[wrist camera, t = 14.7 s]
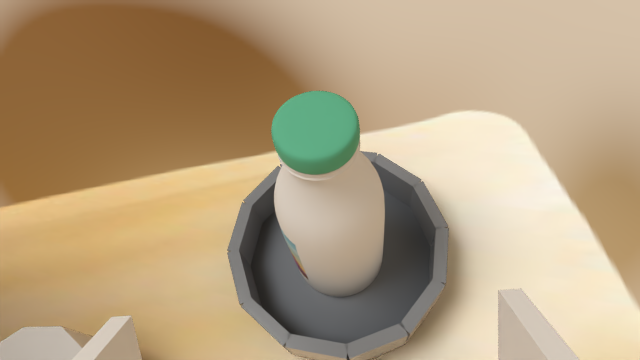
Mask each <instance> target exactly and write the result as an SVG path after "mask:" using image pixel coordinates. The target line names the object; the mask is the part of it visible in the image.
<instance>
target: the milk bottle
mask: <svg viewBox="0 0 640 360" xmlns="http://www.w3.org/2000/svg"><path fill="white" fill-rule="evenodd" d="M272 139H273V143H274V146H275V149H276V151H277V153H278V157H279V160H280V162H281V164H282V167H281V169H280V172H279V174H278V177H277V180H276V184H275V190H274V205H275V212H276V216H277V219H278V222H279V225H280V228H281V231H282V233H283V235H284V238H285V240H286V242H287V245H288V247H289V249H290V251H291V253H292V255H293V258H294V260H295V262H296V264H297V266H298V268H299V270H300V272H301V274H302V276H303V277H304V279H305V280H306V282H307V283H308V284H309V285H310V286H311V287H312V288H314V289H315V290H317V291H318V292H320V293H323V294H325V295H328V296H334V297H345V296H350V295H354V294H356V293H359V292H360V291H362V290H364V289H365V288H367V287H368V286H369V285H370V284H371V283H372V282H373V281H374V279H375V278H376V276H377V275H378V273H379V270H380V267H381V264H382V258H383V243H384V222H385V204H384V192H383V187H382V183H381V180H380V178H379V175H378V173H377V171H376V169H375V168H374V166H373V165H372V163H371V162H370V160H369V159H368V158H367V157H366V156H365V155H364V154H363V153H362V152H361V151H359V150H360V128H359V120H358V116H357V114H356V112H355V110H354V108H353V107H352V105H351V104H350V103H349V102H348V101H347V100H346V99H344V98H343V97H341V96H339V95H337V94H334V93H331V92H327V91H310V92H305V93H302V94H299V95H297V96H295V97H293V98H291V99H289V100H288V101H287V102H285V103H284V104H283V105H282V106H281V107H280V108H279V110H278V111H277V113H276V114H275V116H274V119H273V122H272Z"/></svg>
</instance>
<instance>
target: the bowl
mask: <svg viewBox="0 0 640 360" xmlns="http://www.w3.org/2000/svg"><path fill="white" fill-rule="evenodd" d="M361 152H362V151H361ZM362 153H363V154H364V155H365V156H366V157H367V158H368V159H369V160H370V162H371V163H372V165H373V166H374V168H375V169H376V171H377V173H378V175H379V178H380V180H381V183H382V187H383V192H384V204H385V222H384V243H383V258H382V264H381V267H380V270H379V273H378V275H377V276H376V278H375V279H374V281H373V282H372V283H371V284H370V285H369V286H368V287H367V288H365V289H364V290H362V291H360V292H359V293H356V294H354V295H350V296H345V297H334V296H328V295H325V294H323V293H320V292H318V291H317V290H315V289H314V288H312V287H311V286H310V285H309V284H308V283H307V282H306V280H305V279H304V277H303V276H302V274H301V272H300V270H299V268H298V266H297V264H296V262H295V260H294V258H293V255H292V253H291V251H290V249H289V247H288V245H287V242H286V240H285V238H284V235H283V233H282V231H281V228H280V225H279V222H278V219H277V216H276V212H275V205H274V190H275V184H276V180H277V177H278V174H279V172H280V169H281V168H280V167H279V166H277V167H276V168H275V169H274V170H273V171H272V172H271V173H270V174H269V175H268V176H267V177H266V178H265V179H264V180H263V181H262V182H261V183H260V184H259V185H258V186H257V187H256V188H255V189H254V190H253V191H252V192H251V193H250V194H249V195H248V196H247V197H246V198H245V199H244V200H243V201H244V202H245V203H243V202H242V205H241V208H240V211H239V214H238V217H237V221H236V224H235V227H234V230H233V233H232V237H231V240H230V243H229V246H228V250H227V251H228V253H227V254H228V258H229V262H230V266H231V270H232V275H233V279H234V283H235V287H236V291H237V295H238V299H239V303H240V305H241V307H242V308H243V309H244V310H245V311H246V312H247V313H249V314H250V315H251V316H252V317H253V318H254V319H255V320H256V321H257V322H258V323H259V324H260V325H261V326H262V327H263V328H264V329H265V330H266V331H267V332H269V333H270V334H271V335H272V336H273V337H274V338H275V339H276V340H277V341H278V342H279V343H280V344H281V345H282V346H283V347H284V348H286V349H287V350H288V351H289V352H290V353H291V354H293V355H296V356H301V357H306V358H309V359H313V360H370V359H373V358H376V357H379V356H381V355H383V354H385V353H387V352H389V351H391V350H393V349H395V348H397V347H400V346H403V345H405V342H406V343H407V342H408V341H409V339H410V338H411V336H412V335H413V334H414V332H415V331H416V329H417V328H418V327H419V326H420V325H421V323H422V322H423V320H424V319H425V317H426V316H427V314H428V313H429V311H430V310H431V309H432V307H433V306H434V304H435V303H436V302H437V300H438V299H439V297H440V295H441V293H442V291H443V289H444V287H445V284H446V274H447V252H448V231H449V228H447V227H448V225H447V223H446V221H445V220H444V218H443V216H442V214H441V213H440V211H439V209H438V207H437V205H436V204H435V202H434V200H433V198H432V197H431V195H430V193H429V191H428V189H427V188H426V186H425V184H424V182H423V181H422V182H421V179H419V178H418V177H416V176H415V175H413V174H411V173H410V172H408V171H406V170H405V169H403V168H402V167H400V166H398V165H397V164H395V163H393V162H392V161H390V160H389V159H387V158H385V157H384V156H382V155H381V154H378V155H377V153H373V152H362ZM280 166H281V167H282V164H280Z"/></svg>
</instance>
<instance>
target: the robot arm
mask: <svg viewBox="0 0 640 360" xmlns="http://www.w3.org/2000/svg"><path fill="white" fill-rule="evenodd" d="M498 359H499V360H579V358H578V357H577V356H576V355H575V354H574V352H573V351H572V350H571V349H570V347H569V346H568V345H567V344H566V343H565V341H564V340H563V339H562V338H561V337H560V335H559V334H558V333H557V332H556V330H555V329H554V328H553V327H552V326H551V324H550V323H549V322H548V321H547V319H546V318H545V317H544V316H543V315H542V313H541V312H540V311H539V310H538V308H537V307H536V306H535V305H534V304H533V302H532V301H531V300H530V299H529V297H528V296H527V295H526V294H525V293H524V291H523V290H522V289H509V290H498ZM72 360H142V357H141V353H140V349H139V345H138V341H137V336H136V332H135V328H134V324H133V320H132V316H118V317H111V318H110V319H109V320H108V321H107V322H106V323H105V324H104V325H103V327H102V328H101V329H100V330H99V331H98V332H97V333H96V334H95V335H94V336H93V337H92V338H91V340H90V341H89V342H88V343H87V344H86V345H85V346H84V347H83V348H82V349H81V350H80V351H79V353H78V354H77V355H76V356H75V357H74V358H73V359H72Z"/></svg>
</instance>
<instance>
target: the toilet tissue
mask: <svg viewBox="0 0 640 360" xmlns="http://www.w3.org/2000/svg"><path fill="white" fill-rule="evenodd" d="M92 337H93V336H90V335H86V334H83V333H80V332H77V331H74V330H71V329H68V328H65V327H62V326H52V327H23V328H21V329H20V330H18V331H17V332H15V333H13V334H12V335H10V336H9V337H7V338H6V339H4V340H3V341H1V342H0V360H72V359H73V358H74V357H75V356H76V355H77V354H78V353H79V351H80V350H81V349H82V348H83V347H84V346H85V345H86V344H87V343H88V342H89V341H90V340H91V338H92Z"/></svg>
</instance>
